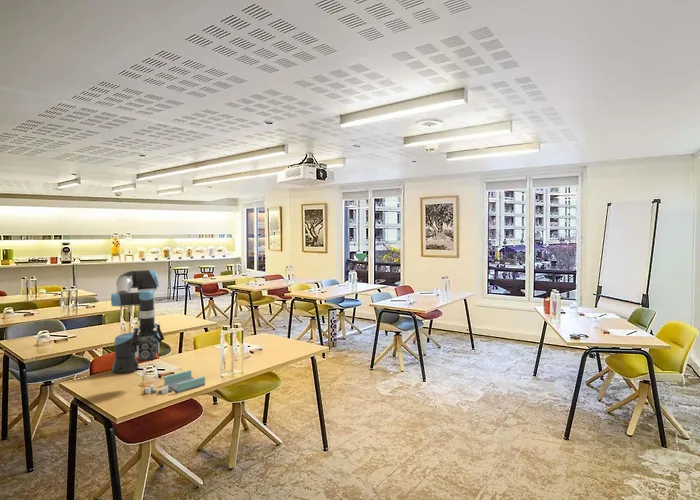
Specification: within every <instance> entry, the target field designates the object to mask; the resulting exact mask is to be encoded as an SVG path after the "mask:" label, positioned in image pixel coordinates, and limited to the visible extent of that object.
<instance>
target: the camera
mask: <svg viewBox="0 0 700 500" xmlns="http://www.w3.org/2000/svg"><path fill="white" fill-rule="evenodd" d="M154 336H155V334H152V333H147V334H144V335H143V336H141V337H139V336H138V339H139V343H138V344H139V345H138V346H139V357H138V362H149V361H154V360H155V359H156V356H157V352H156V350H157V345H156V343H157V341H156V338H155V337H154Z"/></svg>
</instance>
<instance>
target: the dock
mask: <svg viewBox="0 0 700 500" xmlns="http://www.w3.org/2000/svg"><path fill="white" fill-rule="evenodd" d="M163 383H164V384H163V386H168V388H169V389H172V391H174V392H176V393H177V394H180V393H184V392H187V391H190V390H194V389H197V388H201V387H204V386H206V377H205V376H200V377H195V378H194V377H192V369H190V370H185V371H181V372H178V373H173V374H169V375H166V376H164V377H163Z"/></svg>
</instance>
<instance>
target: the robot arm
mask: <svg viewBox="0 0 700 500" xmlns="http://www.w3.org/2000/svg"><path fill="white" fill-rule="evenodd" d="M159 283H160V282H159V277H158V273H157V271H156V270H154V269H151V270H150V269H147V270H145V269H144V270H129V271H127V272H126V271H125V272H124V273H123V274H121V275H119V277H118V278H117V279H116V282H115V285H116V292H115V293H112V294H111V295H110V297H111V298H110V301H111V302H110V303H111V304H110V305H111V306H112V307H127V306H139V327H134V328H133V332H126V333H122V334H119V335H117V336H115V338H114V344H113V345H114V362H113V364H112V367H111V371H112V373H113V374H128V373H133V372H135V371H137V370H138V369H139V363H138V361H137V358H138V359H139V346H138V345H139V344H138V343H139V339H138V336H139V337H141V336H143V335H144V334H147V333H152V334H155V336H154V337H155V338H156V341H157V343H156V345H157V350H156V354H157V353H158V354H160V353H161V350H160V348H161V347H162V341H163V340H165V337H164V334H163V332H162V330H161V325H160V324H158V323H156V311H155V310H156V309H155V306H156V305H155V292H156V291H157V290H158V289H157V288H159V287H160V285H159ZM132 289H137V291H138V292H137V291H135V292H131V291H132ZM137 368H138V369H137ZM136 369H137V370H136ZM134 370H135V371H134ZM132 371H133V372H132Z"/></svg>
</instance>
